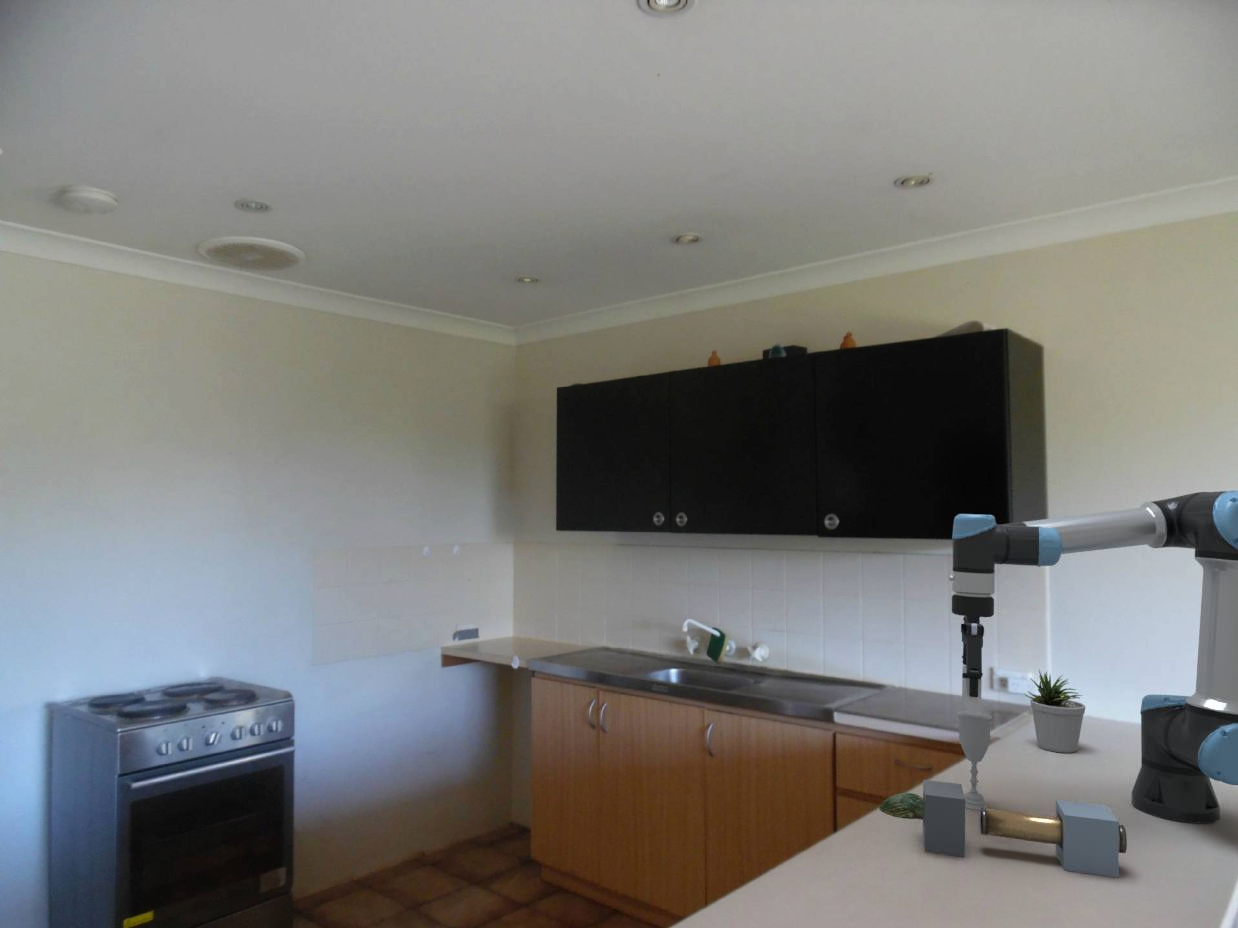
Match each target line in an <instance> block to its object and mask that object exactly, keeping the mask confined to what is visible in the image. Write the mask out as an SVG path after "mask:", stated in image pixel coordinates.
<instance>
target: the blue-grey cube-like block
mask: <svg viewBox="0 0 1238 928" xmlns="http://www.w3.org/2000/svg"><path fill="white" fill-rule="evenodd" d="M1055 817H1061V818H1062V820H1063V845H1057V844H1055V854H1056V856H1057V859H1058V860H1059V862H1060V864H1061V867H1062V869H1063V870H1064V871H1067V872H1069V871H1070V872H1075V873H1080V874H1081V873H1082V874H1087V875H1088V874H1090V875H1098V876H1103V877H1110V878H1118V879H1119V874H1120V871H1119V869H1120V868H1119V865H1120V864H1119V858H1120V857H1119V856H1120V855H1119V854H1120V853H1119V825H1120V821H1119V820H1118V819H1117V817H1116V816H1115V815H1114V813H1113V812H1112V810H1111V809H1110V808H1109V806H1108V805H1101V804H1094V803H1093V804H1092V803H1085V802H1083V803H1082V802H1075V801H1067V800H1061V799H1060V800H1059V799H1058V800H1057V799H1056V800H1055Z"/></svg>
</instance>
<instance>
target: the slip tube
mask: <svg viewBox="0 0 1238 928" xmlns="http://www.w3.org/2000/svg"><path fill="white" fill-rule="evenodd" d="M978 811H979V813H978V814H979V815H978V816H979V817H978V822H979V835H982V836H989V837H990V836H991V837H996V838H997V837H999V838H1006V839H1011V840H1021V841H1029V842H1034V843H1043V844H1050V845H1056V844H1057V845H1063V820H1062V818H1061V817H1056V816H1050V815H1043V814H1036V813H1026V812H1019V811H1010V810H1003V809H994V808H988V807H987V808H980V810H978ZM1127 841H1128V840H1127V832H1126V828H1125V826H1124V825H1122V824H1119V854H1126V852H1127V848H1128V846H1127V845H1128V842H1127Z"/></svg>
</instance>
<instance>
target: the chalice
mask: <svg viewBox="0 0 1238 928" xmlns="http://www.w3.org/2000/svg"><path fill="white" fill-rule="evenodd" d="M956 714H957V715H956V716H957V718H958V720H959V721H958V722H959V723H958V728H959V730H958V739H959V742H960V746H961V749H962V750H963V752H964V755H965V758H966V759H967V760H968V761H970V762H971V769H970V770H969V772H970V774H971V778H970V779H969V780H968V781H969V782H970V784H971V788H970V790H969V791H967V792H965V793H964V796H965V809H966V808H967V809H971V810H976V811H980V808H988V806H987V804H986V800H985V799H984V796H983V794H981V793H979V792H978V790H977V785H978V783H979V780H978V778H977V776H978V773H979V771H978V769H977V768H978V767H977V764H978V763H979V762H982V760H983V758H984V757H985V755H986V753H987V752H988V749H989V745H990V743H991V722H992V721H993V716H992V715H990V714H987V713H984V712H981V715H971V714H965V710H962V711H961V710H960V711H957V712H956Z"/></svg>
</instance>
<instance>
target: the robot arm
mask: <svg viewBox="0 0 1238 928" xmlns="http://www.w3.org/2000/svg"><path fill="white" fill-rule="evenodd" d="M951 538H952V575H949V576H948V580H949V581H950V582H952V590H951V591H953V593H954V592H955V593H954V594H952V595H951V613H952V614H954V615H956V616H963V619H962V620H963V623H960V632H961V642H962V643H963V644H962V645H963V646H962V656H961V659H962V660H961V661H962V664H963V665H962V676H961V677H962V678H961V679H962V681H961V682H962V685H961V690H962V693H961V699H962V700H964V711H965V714H971V715H981V713H982V685H983V683H982V681H983V680H982V677H983V676H984V674H983V669H982V668H983V665H982V664H983V660H982V657H983V654H982V648H983V646H984V636H985V627H984V625H982V623H980V622H981V621H980V620H981V619H980V618H991V617H993V616H994V614H995V599H994V597H993V596H992V595H994V594H995V588H996V587H995V583H996V582H995V581H996V580H995V578H996V575H995V574H996V573H995V572H996V571H995V570H996V569H995V565H1010V566H1011V565H1014V566H1032V567H1033V566H1035V567H1037V568H1039V567H1050V566H1051V567H1052V566H1055V565H1056V564H1058V562H1059V561H1060V559H1061V556H1062V555H1066V554H1067V555H1068V554H1075V553H1084V552H1093V551H1102V550H1103V551H1104V550H1110V549H1120V548H1127V547H1136V546H1145V545H1146V546H1148V547H1149V548H1151V549H1161V548H1181V549H1193V550H1194V560H1195V561H1196V562H1197V563H1198V564H1199V565H1200V566H1201V567H1202V586H1201V601H1200V603H1201V604H1200V615H1199V634H1198V647H1197V662H1196V663H1197V664H1196V678H1195V679H1196V681H1195V692H1194V694H1193V695H1191V696H1189V695H1173V694H1147V695H1145V696H1143V698H1142V700H1141V707H1140V726H1141V727H1140V728H1141V730H1140V731H1141V733H1140V735H1141V737H1140V739H1141V741H1140V744H1141V746H1140V747H1141V748H1140V751H1141V758H1140V760H1141V761H1140V762H1141V766H1140V769H1139V772H1138V774H1137V777H1136V780H1135V783H1134V784H1133V788H1132V790H1131V804H1132V805H1133V806H1134V807H1135V808H1137V809H1138V810H1140V811H1142V812H1144V813H1146V814H1150V815H1153V816H1155V817H1160V818H1163V819H1167V820H1171V821H1177V822H1184V823H1190V824H1191V823H1192V824H1193V823H1194V824H1210V823H1211V824H1212V823H1215V822H1218V821H1220V820H1221V807H1220V803H1219V800H1218V798H1217V795H1216V792H1215V789H1214V786H1213V785H1212V781H1211V779H1212V780H1214V781H1217V782H1221V783H1225V784H1228V785H1230V786H1238V490H1224V491H1223V490H1221V491H1197V492H1192V493H1188V494H1183V495H1179V496H1175V497H1170V498H1166V499H1159V500H1154V501H1147V502H1144V503H1142V504H1141V505H1140V507H1138V508H1137V507H1136V508H1129V509H1127V508H1126V509H1119V510H1112V511H1111V510H1110V511H1105V512H1104V511H1103V512H1094V513H1087V514H1077V515H1070V516H1069V515H1067V516H1063V517H1062V516H1061V517H1053V518H1052V517H1051V518H1044V519H1036V520H1035V519H1034V520H1028V521H1021V522H1011V523H1003V524H998V523H997V522H996V517H995V516H994V515H992V514H973V513H958V514H957V515H956V516H954V519H953V525H952V536H951Z"/></svg>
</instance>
